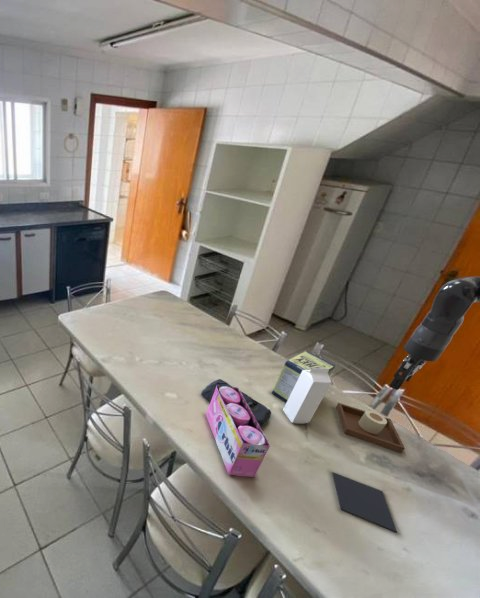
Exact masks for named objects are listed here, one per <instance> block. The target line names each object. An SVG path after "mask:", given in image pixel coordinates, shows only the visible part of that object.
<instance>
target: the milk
mask: <svg viewBox="0 0 480 598" xmlns="http://www.w3.org/2000/svg"><path fill="white" fill-rule="evenodd" d="M328 371H329V369H322V368H312V369H311V370H302V372H301V374H300V376H299V378H298V380H297V382H296V384H295V386H294V388H293V390H292V393H291V395H290V397H289V399H288V401H287V403H286V402H285V405H284V406H283V409H282V412H283V413H284V414H285V416H286V417H287V419H288V420H289V421H290V422H291V424H301V425H307V424H308V423H310V422H311V420H312V419H313V417H314V415H315V413H316V412H317V410H318V408H319V406H320V405H321V402H322V401H323V399H324V397H325V396H326V393H327V392H328V390H329V388H330V387H331V385H332V381H331V378H330V376H329V375H328Z"/></svg>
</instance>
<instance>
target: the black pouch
mask: <svg viewBox="0 0 480 598" xmlns="http://www.w3.org/2000/svg"><path fill="white" fill-rule="evenodd" d="M218 385H219V388H220V387H225V386H226V387H230V388H233V387H234V386H232V385H230V384H229V383H228V382H226V381H225V380H223V379H221V378H218V379H216V380H214V381H212V382H210V383H209V384H208V385H206V387H205V388H204V389H202V391H201V393H200V395H201V397H203V399H205V400H206V401H207V402H208V403H209V404H210V402H211V400H212V397H213V394H214V392H215V389H216V386H218ZM240 392H241V394H242V395H243V397H244V399H245V401H246V403H247V405H248V406H249V408H250V410H251V412H252V413H253V415H254V417H255V419H256V421H257V423H258V424H259V426H260V427H263V426H264V425H266V423H267V422H268V421H269V420H270V417H271V415H272V411H271V410H270V409H269V408H268V407H267V406H266V405H264V404H262V403H261V402H259V401H257V400H255V399H254V398H252V397H251V396H249V395H248V394H246V393H245V392H243V391H242V390H240Z"/></svg>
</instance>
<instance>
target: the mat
mask: <svg viewBox="0 0 480 598" xmlns="http://www.w3.org/2000/svg"><path fill="white" fill-rule="evenodd" d="M331 474H332V477H333V482H334V486H335V490H336V494H337V495H336V496H337V498H338V503H339V507H340V510H341V511H343V512H346V513H348V514H351V515H353V516H355V517H358V518H360V519H363V520H365V521H368V522H369V523H372V524H374V525H377V526H379V527H382V528H384V529H387V530H388V531H389V530H390V531H391V532H394V533H397V532H398V530H397V527H396V524H395V523H394V520H393V517H392V514H391V512H390V509H389V505H388V502H387V500H386V497H385V495H384V493H383V491H382V490H380V489H378V488H375V487H372V486H370V485H367V484H365V483H362V482H360V481H357V480H354V479H352V478H349V477H346V476H343V475H341V474H339V473H336V472H332V473H331Z"/></svg>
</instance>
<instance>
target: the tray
mask: <svg viewBox="0 0 480 598" xmlns="http://www.w3.org/2000/svg"><path fill="white" fill-rule="evenodd" d="M335 408H336V412H337V415H338V419H339V422H340V426H341V428H342V432H343V434H345V435H347V436H351V437H353V438H357V439H359V440H362V441H364V442H368V443H371V444H373V445H377V446H380V447H383V448H385V449H388V450H391V451H394V452H397V453H400V454H402V453H403V452H404V450H405V449H406V448H405V445H404V443H403V441H402V439H401V437H400V435H399V433H398V431H397V429H396V427H395V425H394V423H393V421H392V419H391V418H388V417H385V416H383V417H384V418H385V419H386V420H387V424H386V425H385V426H384V428H383V429H382V431H381V432H380V433H379V434H372V433H369V432H367V431H365V430H364V429H363V428H361V427H360V425H359V420H360V419H361V417H362V416H363V414H364V413H365V411H366V410H363V409H359V408H356V407H355V406H350V405H348V404H344V403H341V402H337V405H336V406H335Z"/></svg>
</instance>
